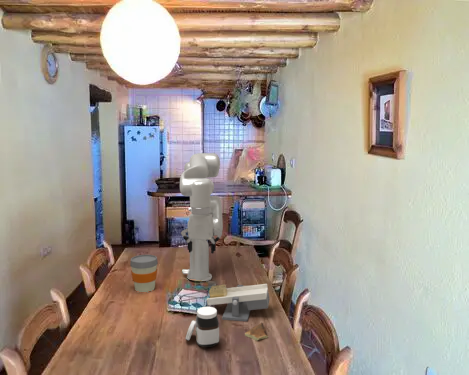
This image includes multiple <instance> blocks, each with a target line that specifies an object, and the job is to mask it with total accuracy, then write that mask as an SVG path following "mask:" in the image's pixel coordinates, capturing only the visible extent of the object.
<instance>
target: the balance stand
mask: <svg viewBox="0 0 469 375" xmlns="http://www.w3.org/2000/svg"><path fill="white" fill-rule="evenodd" d="M242 286H244V284H237V286H236V287H242ZM250 314H251V310H248V306H247V301H244V302H239V297H233V298H232V303H227V305H226V307H225V310H224V313H223V314H222V316H221V320H223V321H224V320H225V321H237V322H238V321H239V322H248V321H249V316H250Z"/></svg>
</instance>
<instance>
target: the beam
mask: <svg viewBox="0 0 469 375" xmlns="http://www.w3.org/2000/svg"><path fill="white" fill-rule="evenodd" d="M226 289H227V295H226V296H225V297H216V298H210V297H209V298H208V297H207V298H206V303H207V306H215V305H222V304H228V303H232V298H233V297H239V302H244V301H247V306H248V310H250V311H254V310H264V309H269V305H270V293H269V287H268V283H263V284H262V283H261V284H254V285H253V284H252V285H243V286H242V287H237V286H235V287H226Z"/></svg>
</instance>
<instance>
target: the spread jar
mask: <svg viewBox="0 0 469 375" xmlns="http://www.w3.org/2000/svg"><path fill="white" fill-rule="evenodd" d="M217 315H218V310H217V308H215V307H213V306H203V307H199V308H198V309H197V311H196V317H195V320H191V322H190V325H189V327H188V329H187V333H186V335H185V340H187V341H190V339H191V337H192V335H193V333H194V331H195V339H196V344H197V345H198V346H200V347H202V348H212V347H214V346H216V345H218V344H219V342H220V322H219V318H218V316H217Z"/></svg>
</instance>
